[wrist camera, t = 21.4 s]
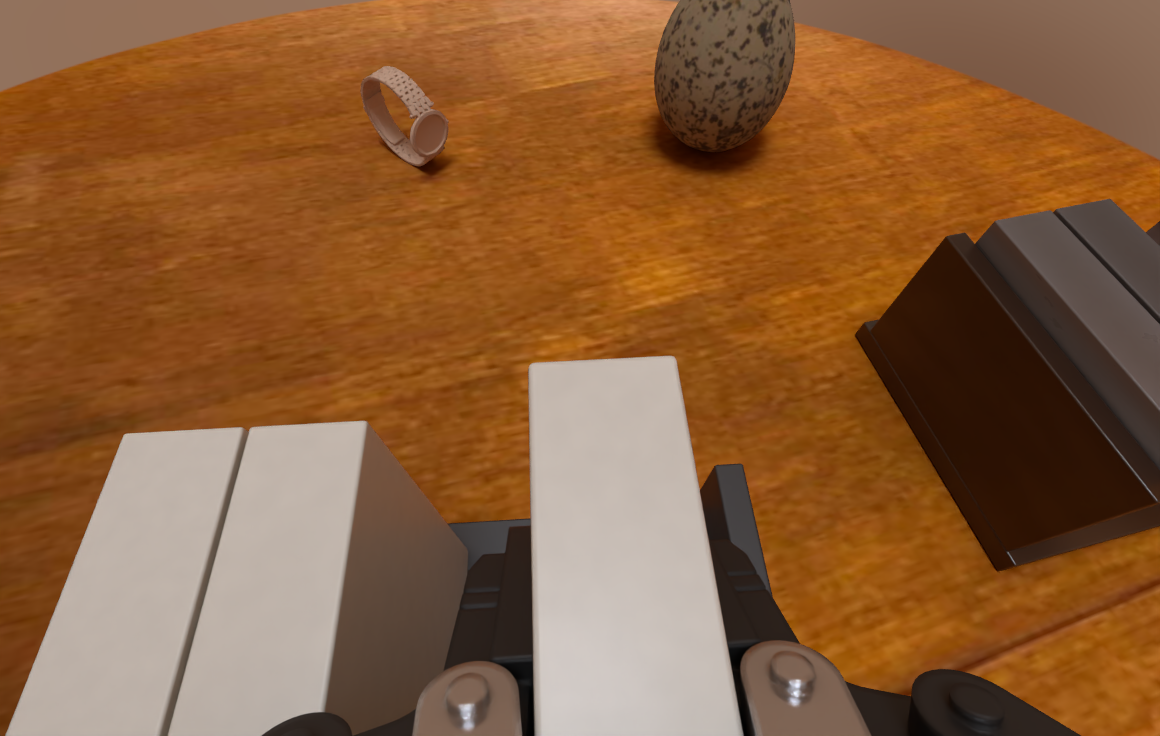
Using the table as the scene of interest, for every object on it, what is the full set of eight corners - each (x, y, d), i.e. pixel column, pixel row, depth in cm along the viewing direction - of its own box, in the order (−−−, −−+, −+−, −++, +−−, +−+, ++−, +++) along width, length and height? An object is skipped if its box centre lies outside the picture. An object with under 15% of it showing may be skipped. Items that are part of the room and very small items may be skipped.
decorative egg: (750, 194, 31) (817, 0, 22) (630, 162, 32) (649, -32, 23) (776, 119, 34) (842, -74, 25) (666, 93, 35) (694, -98, 27)
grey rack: (997, 572, 20) (1210, 510, 13) (854, 334, 26) (954, 204, 19) (1302, 486, 22) (1629, 393, 15) (1107, 280, 28) (1283, 143, 21)
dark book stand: (267, 935, 15) (-372, 1433, 5) (332, 537, 21) (93, 387, 11) (758, 892, 16) (1094, 1268, 6) (694, 515, 21) (801, 350, 11)
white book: (568, 887, 14) (543, 1370, 4) (555, 540, 19) (528, 360, 9) (658, 879, 15) (854, 1336, 4) (623, 536, 19) (676, 353, 9)
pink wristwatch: (425, 184, 31) (400, 103, 27) (369, 150, 33) (337, 67, 28) (458, 160, 32) (440, 77, 28) (403, 128, 34) (377, 45, 29)
